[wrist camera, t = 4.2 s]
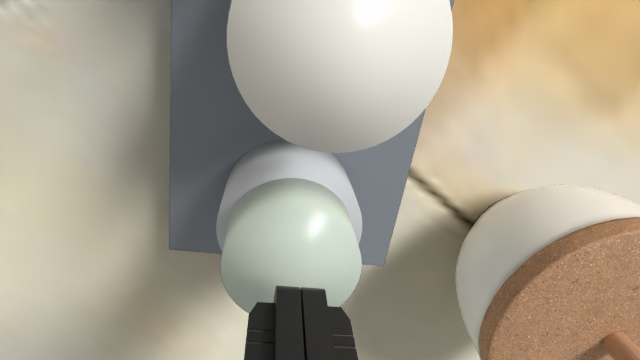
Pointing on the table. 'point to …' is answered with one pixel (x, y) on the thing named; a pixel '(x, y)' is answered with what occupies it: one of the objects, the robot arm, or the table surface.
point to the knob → (290, 243)
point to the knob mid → (338, 66)
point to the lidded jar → (553, 276)
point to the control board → (238, 128)
